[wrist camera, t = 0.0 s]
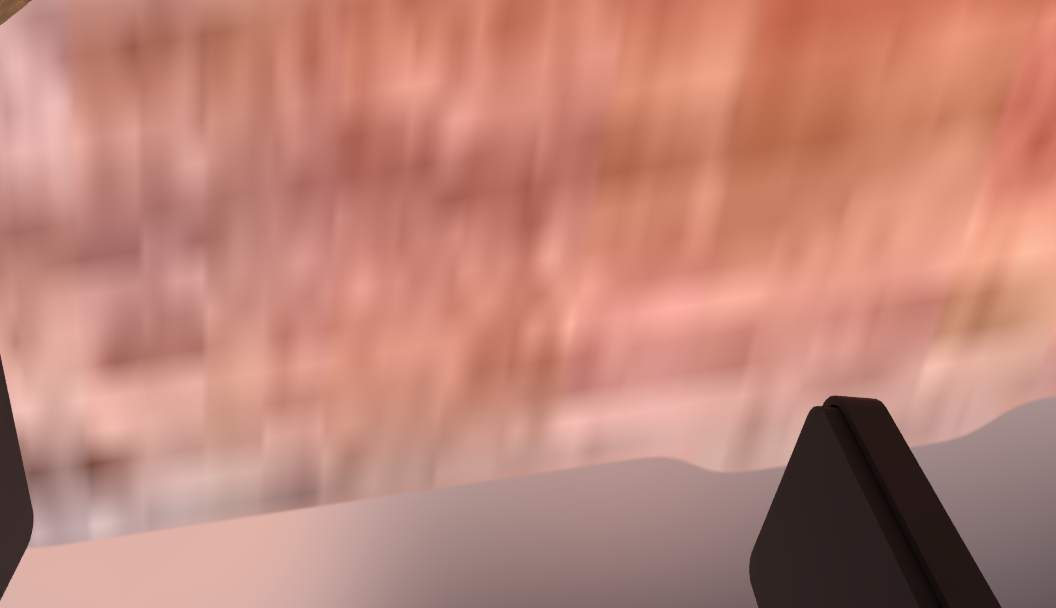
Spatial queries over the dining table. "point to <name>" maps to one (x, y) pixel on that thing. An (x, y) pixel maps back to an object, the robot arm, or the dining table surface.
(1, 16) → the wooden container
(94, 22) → the dining table surface
